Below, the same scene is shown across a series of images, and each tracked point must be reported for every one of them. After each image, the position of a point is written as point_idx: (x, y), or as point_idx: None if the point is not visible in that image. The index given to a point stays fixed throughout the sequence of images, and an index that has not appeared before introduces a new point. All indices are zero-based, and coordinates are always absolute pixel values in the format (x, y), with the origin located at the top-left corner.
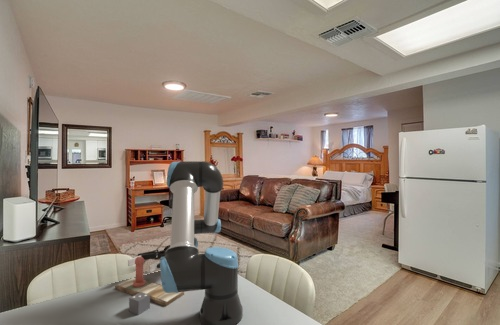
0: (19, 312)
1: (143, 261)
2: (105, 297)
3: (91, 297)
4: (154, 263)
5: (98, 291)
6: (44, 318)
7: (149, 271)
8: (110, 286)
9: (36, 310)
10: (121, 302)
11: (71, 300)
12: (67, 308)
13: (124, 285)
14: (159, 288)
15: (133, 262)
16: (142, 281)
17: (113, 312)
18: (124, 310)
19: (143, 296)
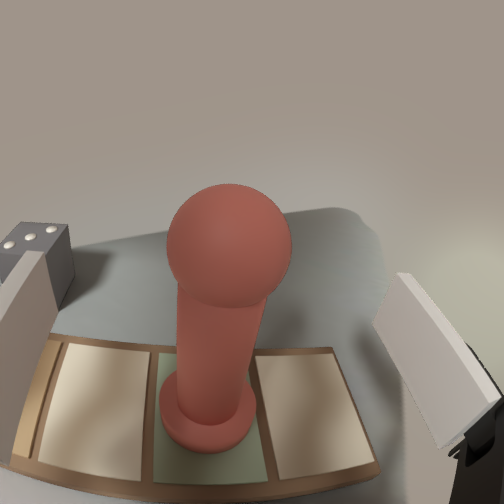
0: (356, 219)
1: (169, 254)
2: (273, 305)
3: (319, 288)
4: (6, 297)
5: (357, 318)
6: (285, 217)
7: (57, 310)
8: (376, 362)
9: (343, 226)
10: (161, 304)
11: (344, 262)
12: (296, 242)
13: (291, 368)
14: (22, 418)
15: (405, 345)
16: (178, 406)
17: (131, 262)
18: (100, 276)
19: (14, 240)
